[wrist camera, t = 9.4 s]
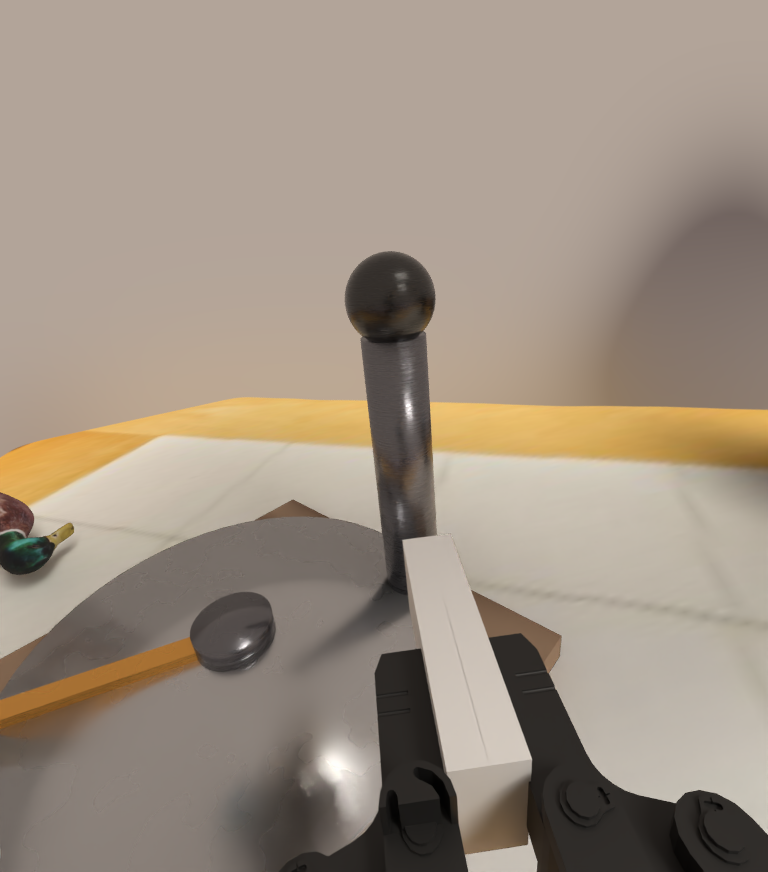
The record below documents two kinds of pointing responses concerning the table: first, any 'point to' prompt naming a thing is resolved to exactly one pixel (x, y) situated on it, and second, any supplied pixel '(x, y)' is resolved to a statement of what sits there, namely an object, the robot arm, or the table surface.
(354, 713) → the dial
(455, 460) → the table surface
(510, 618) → the walnut stand board
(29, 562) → the decorative duck model
